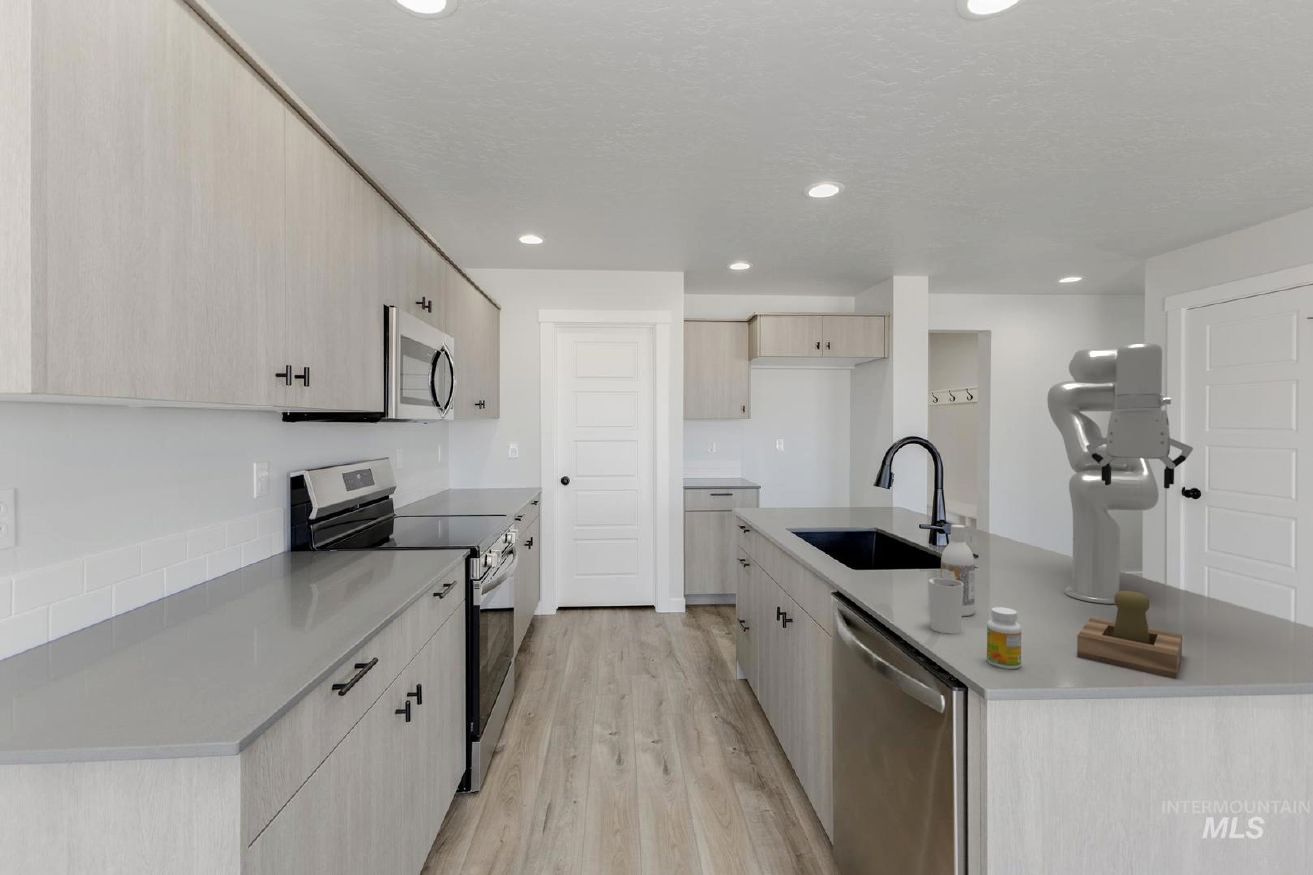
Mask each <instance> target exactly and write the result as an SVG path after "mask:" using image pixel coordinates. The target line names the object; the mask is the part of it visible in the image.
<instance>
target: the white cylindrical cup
mask: <svg viewBox="0 0 1313 875" xmlns="http://www.w3.org/2000/svg"><path fill="white" fill-rule="evenodd" d="M963 586H964V584H963V583H962V582H960V581H957V580H953V579H946V578H941V577H934V578H930V579H928V594H929V617H930V618H929V619H930V620H929V622H930V628H931V630H932V631H935V632H937V633H940V634H941V633H942V634H947V633H950V634H949V635H952V634H953V635H956V634H960V633H961V632H962V618H963V616H962V603H963Z"/></svg>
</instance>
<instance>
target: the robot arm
mask: <svg viewBox="0 0 1313 875" xmlns="http://www.w3.org/2000/svg"><path fill="white" fill-rule="evenodd" d="M1162 349H1163V348H1162V347H1161V346H1160V345H1159V344H1157V343H1153V342H1152V343H1148V342H1147V343H1141V342H1140V343H1133V344H1132V343H1131V344H1125V345H1122V346H1120V347H1103V348H1101V347H1100V348H1088V349H1081V350H1078V351H1076V352H1075V353H1074V354H1073V356H1072V359H1071V360H1070V362H1069V365H1068V370H1069V374H1070V376H1071V377H1072V378H1073V380H1070V381H1062V382H1059V383H1056V384H1053V386H1051V387H1050V389H1049V390H1048V392H1047V408H1048V413H1049V415H1050V418H1051V420H1052V422H1053V423H1054V425H1055V427H1056V428H1057V429H1058V431H1059V432H1060V434H1061V436H1062V440H1063V443H1064V447H1065V451H1066V456H1067V459H1068V464H1069V465H1070V468H1071V469H1072V470H1073V471H1074V472H1075V474H1073V475H1072V476H1071V477H1070V479H1069V482H1068V490H1069V496H1070V503H1071V510H1072V577H1071V578H1072V580H1071V581H1072V582H1071V585H1069V586H1066V587H1065V589H1064V593H1065V594H1066V595H1067V596H1069V597H1071V598H1074V599H1077V600H1079V601H1080V600H1082V601H1084V602H1091V603H1096V604H1107V605H1110V604H1112V605H1113V604H1114V605H1115V602H1114V597H1115V594H1116V593H1117V592H1119V591H1120V573H1121V571H1120V569H1121V568H1120V566H1121V565H1120V564H1121V562H1120V560H1121V553H1120V552H1121V529H1120V526H1119V524H1118V522H1117V521H1116V520H1115V519H1114V518H1113V517H1112V515H1110V513H1109V512H1108V511H1114V510H1117V511H1118V510H1119V511H1149V510H1151V509H1154V507H1156V505H1157V504H1158V502H1159V493H1160V492H1159V488H1158V484H1157V480H1156V477H1155V476H1154V472H1153V469H1152V467H1151V464H1150V461H1149V460H1151V459H1152V460H1156V459H1157V460H1160V461H1161V462H1162V463H1163V464H1164V465H1165V468H1164V469H1163V470H1164V471H1163V472H1164V473H1163V488H1164V489H1170V488H1171V485H1175V469H1176V468H1177V467H1178V466H1180V465H1181V464H1182V463H1183V462H1185V461H1186V460H1187V459H1188V457H1189V456H1190V455H1191V453H1192V452H1193V450H1194V447H1192V446H1190V445H1189V444H1187V443H1183V442H1181V441H1179V440H1177V439H1174V438H1171V436H1170V422H1169V416H1168V413H1167V412H1168V411H1167V410H1163V409H1162V407H1163V406H1166V405H1171V404H1172V398H1171V397H1166V396H1163V395H1162V391H1163V390H1162V389H1163V388H1162V385H1163V384H1162V383H1163V381H1162V380H1163V350H1162ZM1082 412H1086V413H1087V412H1110V415H1109V419H1108V424H1107V431H1106V433H1107V434H1106V437H1103V434H1102V430H1101V427H1099V425H1098V423H1096V422H1095V421H1094V420H1093V419H1091V417H1088V416H1087V415H1085V414H1083V413H1082ZM1171 447H1173V448H1177V449H1179V450H1180V451H1181V452H1180V454H1179V456H1177V457H1176V458H1175V459H1172V458H1171V457H1169V455H1170V451H1171Z"/></svg>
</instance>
